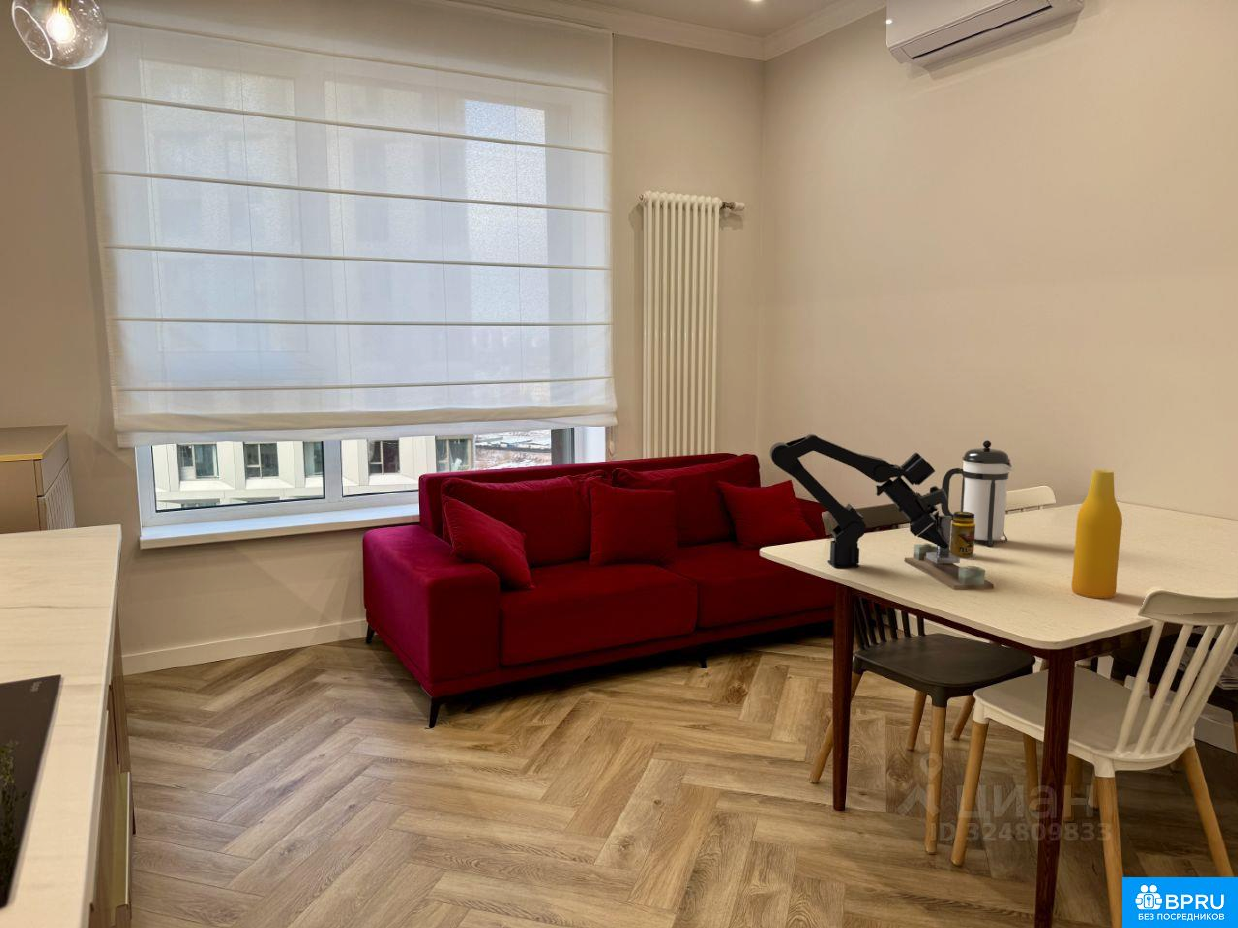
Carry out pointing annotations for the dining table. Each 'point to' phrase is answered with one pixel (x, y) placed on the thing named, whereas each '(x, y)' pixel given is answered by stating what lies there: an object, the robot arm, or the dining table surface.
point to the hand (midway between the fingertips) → (947, 543)
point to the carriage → (945, 531)
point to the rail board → (944, 575)
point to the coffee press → (983, 491)
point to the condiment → (962, 535)
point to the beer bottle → (1097, 540)
